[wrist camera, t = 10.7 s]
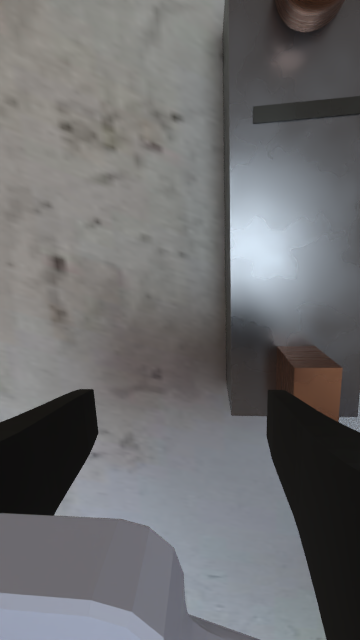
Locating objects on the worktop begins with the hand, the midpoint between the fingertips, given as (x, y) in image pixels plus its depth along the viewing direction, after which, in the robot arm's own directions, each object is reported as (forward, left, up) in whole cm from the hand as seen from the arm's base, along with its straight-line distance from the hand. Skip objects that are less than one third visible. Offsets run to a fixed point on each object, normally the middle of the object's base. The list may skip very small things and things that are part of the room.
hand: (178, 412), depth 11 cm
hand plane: (-6, -8, -9) cm, 14 cm away
